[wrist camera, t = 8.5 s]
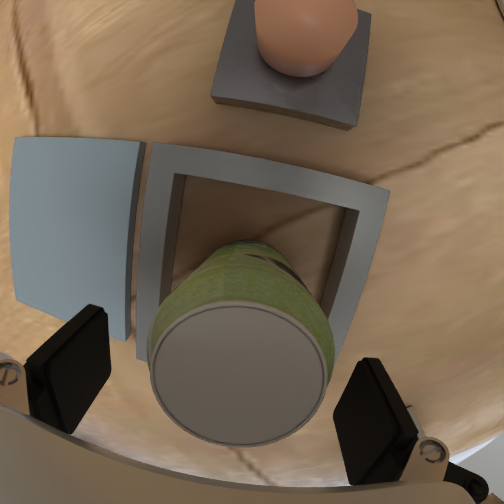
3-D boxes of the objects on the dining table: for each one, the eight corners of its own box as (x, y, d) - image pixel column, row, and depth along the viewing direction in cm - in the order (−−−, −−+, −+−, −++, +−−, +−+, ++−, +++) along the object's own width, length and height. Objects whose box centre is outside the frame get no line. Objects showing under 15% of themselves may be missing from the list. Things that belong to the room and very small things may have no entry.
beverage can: (201, 319, 20) (146, 464, 8) (201, 212, 18) (100, 289, 6) (293, 325, 20) (315, 479, 8) (304, 218, 18) (373, 308, 6)
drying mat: (22, 137, 16) (15, 137, 15) (146, 142, 17) (139, 141, 16) (22, 295, 20) (16, 299, 19) (130, 335, 20) (125, 341, 20)
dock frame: (167, 145, 17) (153, 142, 14) (374, 187, 17) (390, 190, 14) (148, 340, 20) (136, 358, 18) (316, 372, 21) (321, 394, 18)
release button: (265, 6, 12) (264, -33, 8) (341, 22, 12) (361, -12, 8) (249, 68, 13) (244, 37, 9) (332, 85, 13) (353, 61, 9)
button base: (242, 0, 14) (240, -15, 12) (362, 26, 14) (371, 13, 12) (216, 103, 16) (210, 95, 14) (346, 130, 16) (356, 126, 14)
